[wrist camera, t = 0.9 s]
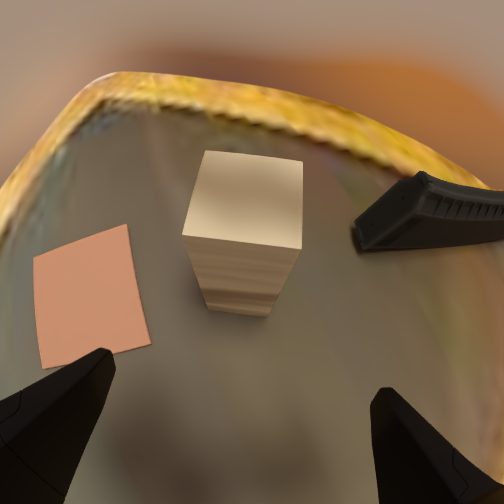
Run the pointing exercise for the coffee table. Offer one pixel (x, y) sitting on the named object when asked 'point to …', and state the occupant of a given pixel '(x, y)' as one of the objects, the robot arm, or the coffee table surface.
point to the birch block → (244, 229)
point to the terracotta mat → (88, 299)
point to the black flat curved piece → (431, 215)
